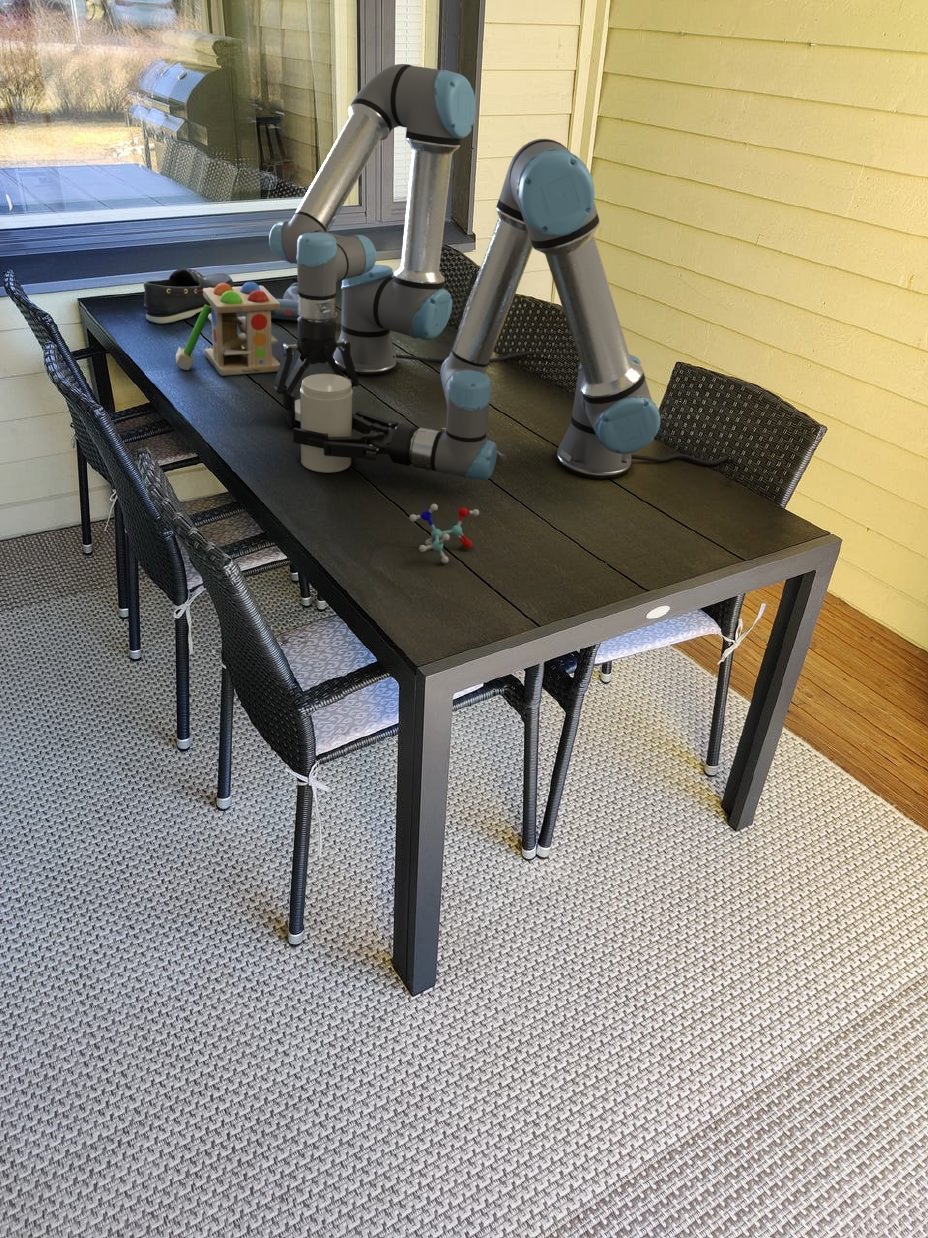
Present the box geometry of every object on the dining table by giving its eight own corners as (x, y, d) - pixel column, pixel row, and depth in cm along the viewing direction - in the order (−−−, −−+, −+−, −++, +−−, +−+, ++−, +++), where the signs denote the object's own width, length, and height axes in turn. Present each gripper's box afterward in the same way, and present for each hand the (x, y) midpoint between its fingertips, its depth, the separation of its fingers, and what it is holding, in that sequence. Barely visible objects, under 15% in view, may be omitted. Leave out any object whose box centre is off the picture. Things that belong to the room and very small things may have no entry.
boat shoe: (253, 302, 272) (251, 263, 267) (163, 325, 248) (159, 283, 243) (219, 293, 278) (216, 255, 272) (128, 316, 254) (123, 274, 248)
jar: (341, 476, 188) (343, 395, 179) (293, 467, 189) (292, 387, 180) (357, 455, 196) (359, 377, 187) (311, 447, 197) (311, 369, 188)
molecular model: (470, 557, 159) (450, 498, 158) (419, 572, 163) (399, 515, 161) (491, 545, 170) (472, 489, 168) (442, 560, 173) (424, 506, 172)
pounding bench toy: (183, 379, 220) (176, 299, 210) (169, 357, 231) (162, 280, 221) (282, 371, 230) (280, 294, 220) (264, 350, 240) (262, 276, 230)
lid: (349, 421, 205) (349, 413, 204) (300, 426, 201) (300, 418, 200) (332, 402, 212) (332, 394, 212) (284, 407, 208) (284, 399, 207)
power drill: (344, 304, 276) (335, 327, 259) (277, 298, 275) (264, 321, 258) (344, 285, 273) (335, 306, 256) (277, 279, 272) (264, 300, 255)
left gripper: (266, 326, 187) (269, 434, 200) (377, 318, 197) (374, 421, 209) (254, 314, 193) (258, 419, 205) (363, 307, 202) (360, 408, 215)
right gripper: (394, 489, 178) (281, 465, 183) (431, 442, 197) (327, 422, 201) (396, 451, 174) (280, 428, 178) (433, 407, 192) (328, 387, 196)
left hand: (316, 420), depth 207 cm, fingers closed on lid, 10 cm apart
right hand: (305, 425), depth 190 cm, fingers closed on jar, 10 cm apart
